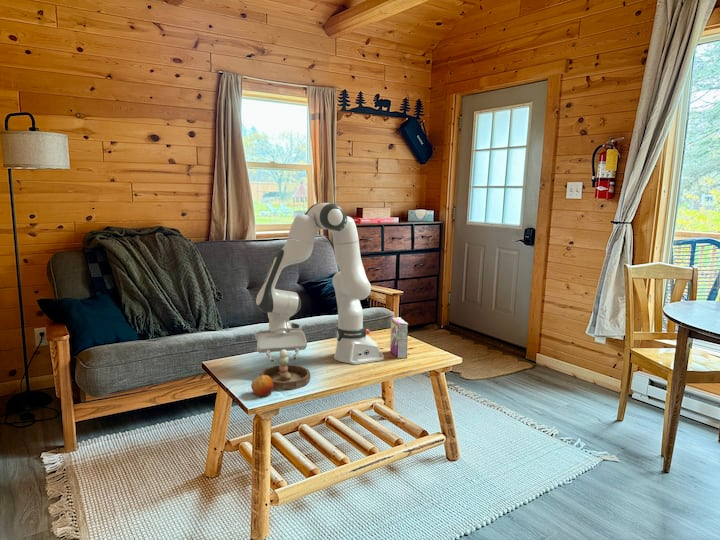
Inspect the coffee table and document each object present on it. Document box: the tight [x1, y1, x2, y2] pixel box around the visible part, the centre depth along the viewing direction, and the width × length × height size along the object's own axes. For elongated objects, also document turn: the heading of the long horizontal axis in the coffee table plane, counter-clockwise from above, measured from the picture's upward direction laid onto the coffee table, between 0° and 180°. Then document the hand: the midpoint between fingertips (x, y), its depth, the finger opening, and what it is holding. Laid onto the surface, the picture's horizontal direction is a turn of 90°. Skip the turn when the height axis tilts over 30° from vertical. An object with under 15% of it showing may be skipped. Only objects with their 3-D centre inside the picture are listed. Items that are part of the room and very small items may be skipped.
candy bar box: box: [389, 317, 409, 360], centre depth 229 cm, size 11×5×16 cm, turn 14°
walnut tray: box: [259, 364, 311, 391], centre depth 196 cm, size 19×19×3 cm
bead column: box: [278, 350, 289, 376], centre depth 200 cm, size 4×4×10 cm
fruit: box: [250, 375, 274, 398], centre depth 182 cm, size 8×8×8 cm
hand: (283, 360), depth 199 cm, fingers open, 8 cm apart
